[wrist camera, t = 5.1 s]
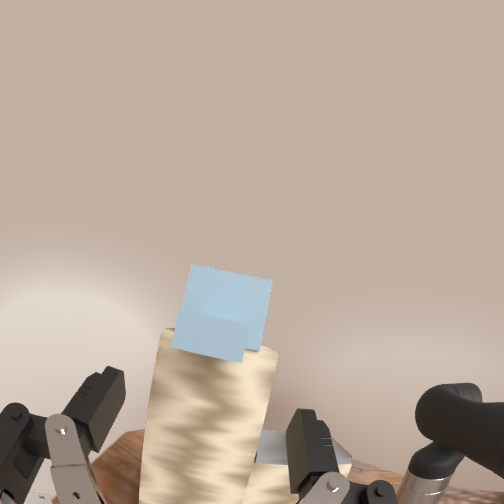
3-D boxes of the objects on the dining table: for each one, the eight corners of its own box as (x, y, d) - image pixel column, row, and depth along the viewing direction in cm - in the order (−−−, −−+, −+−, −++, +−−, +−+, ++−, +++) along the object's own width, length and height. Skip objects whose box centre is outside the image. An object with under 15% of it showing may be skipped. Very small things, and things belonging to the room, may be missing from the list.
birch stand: (278, 559, 20) (346, 357, 30) (287, 587, 13) (378, 364, 23) (148, 543, 19) (176, 327, 29) (139, 571, 12) (161, 328, 22)
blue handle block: (253, 344, 28) (264, 290, 30) (277, 368, 13) (298, 252, 14) (189, 331, 28) (201, 277, 30) (138, 337, 12) (166, 225, 14)
